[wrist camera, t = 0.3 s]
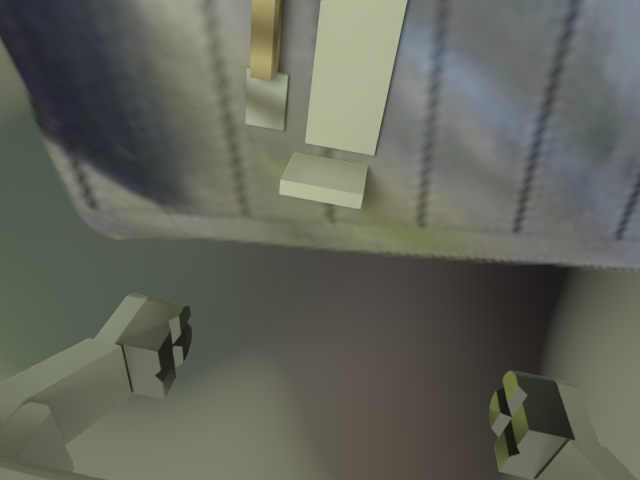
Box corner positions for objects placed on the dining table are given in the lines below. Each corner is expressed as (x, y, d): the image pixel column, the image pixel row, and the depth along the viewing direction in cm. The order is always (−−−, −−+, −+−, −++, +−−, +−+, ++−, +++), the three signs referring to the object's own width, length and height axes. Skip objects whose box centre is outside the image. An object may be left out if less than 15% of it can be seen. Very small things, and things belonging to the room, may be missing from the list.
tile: (294, 151, 59) (280, 179, 53) (368, 165, 59) (363, 195, 52) (292, 166, 60) (279, 195, 54) (365, 179, 60) (360, 210, 53)
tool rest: (326, -40, 46) (325, -39, 45) (412, -26, 46) (412, -25, 45) (306, 140, 58) (305, 143, 57) (374, 152, 57) (374, 155, 57)
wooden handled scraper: (251, -30, 48) (240, -26, 44) (296, -22, 47) (288, -18, 44) (247, 121, 58) (238, 133, 54) (284, 128, 57) (277, 140, 54)
